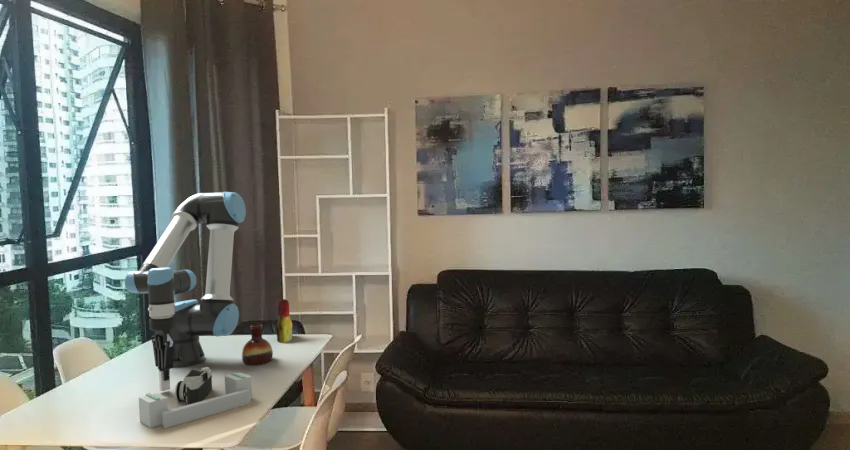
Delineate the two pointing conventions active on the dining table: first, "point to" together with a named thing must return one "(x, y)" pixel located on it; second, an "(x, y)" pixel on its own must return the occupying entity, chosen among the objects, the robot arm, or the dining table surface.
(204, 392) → the camera
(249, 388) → the rail mount
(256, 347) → the vase
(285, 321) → the bottle
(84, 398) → the dining table surface
